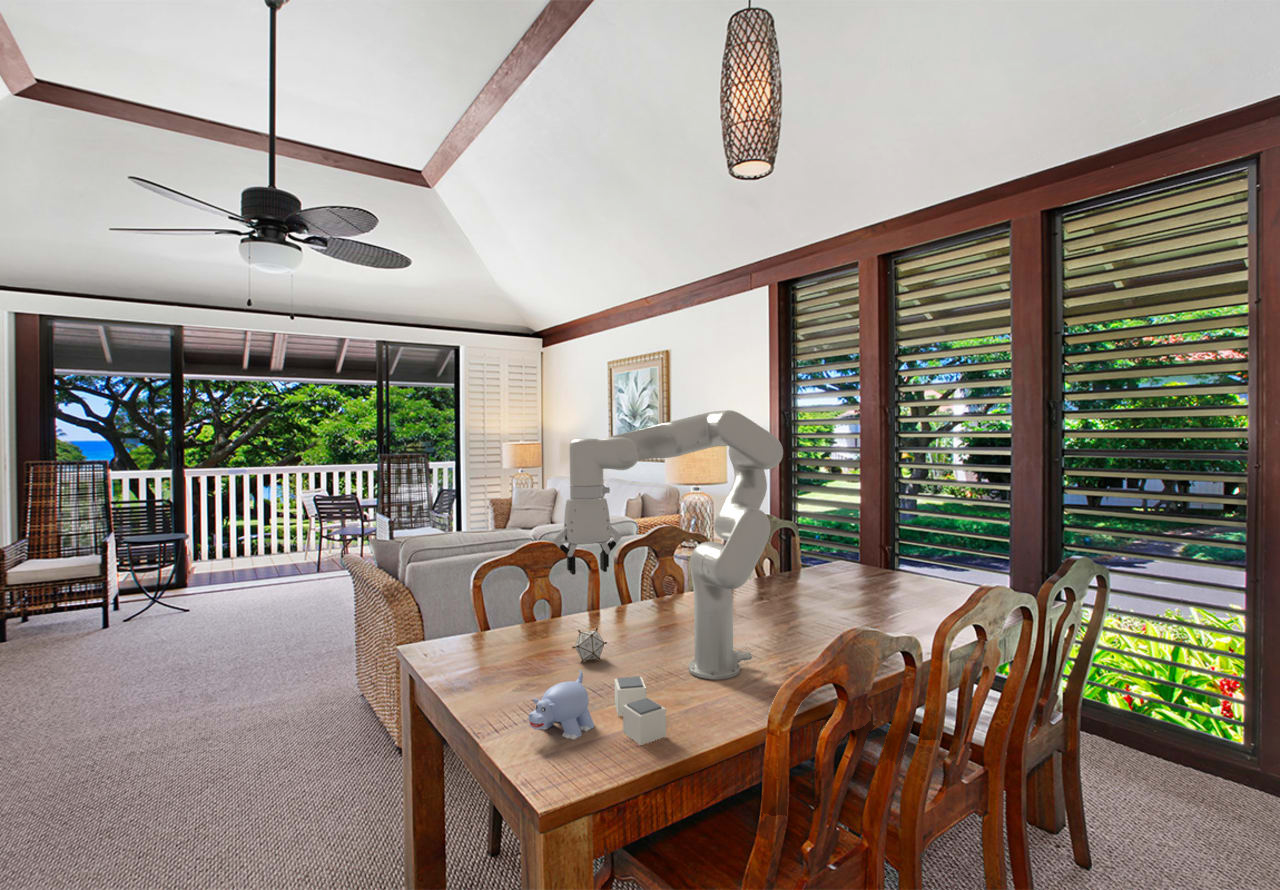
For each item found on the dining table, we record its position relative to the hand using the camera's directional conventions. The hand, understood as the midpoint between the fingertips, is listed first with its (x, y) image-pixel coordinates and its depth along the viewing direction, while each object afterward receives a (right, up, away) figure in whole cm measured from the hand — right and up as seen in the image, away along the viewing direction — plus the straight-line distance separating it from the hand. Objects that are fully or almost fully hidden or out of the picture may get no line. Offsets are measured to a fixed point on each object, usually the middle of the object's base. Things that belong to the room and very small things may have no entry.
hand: (588, 571), depth 141 cm
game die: (-1, -28, +21) cm, 35 cm away
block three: (+10, -28, -8) cm, 30 cm away
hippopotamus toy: (-4, -28, -17) cm, 33 cm away
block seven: (+13, -28, -20) cm, 36 cm away
